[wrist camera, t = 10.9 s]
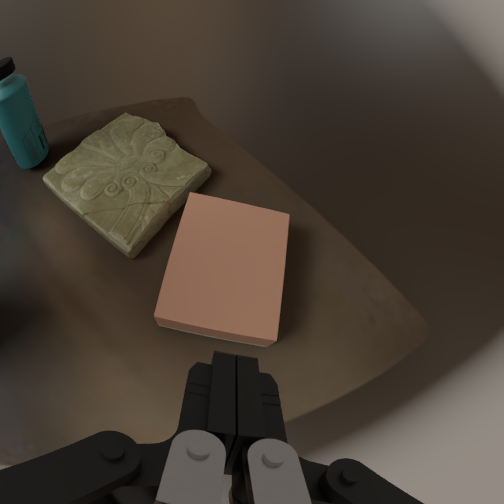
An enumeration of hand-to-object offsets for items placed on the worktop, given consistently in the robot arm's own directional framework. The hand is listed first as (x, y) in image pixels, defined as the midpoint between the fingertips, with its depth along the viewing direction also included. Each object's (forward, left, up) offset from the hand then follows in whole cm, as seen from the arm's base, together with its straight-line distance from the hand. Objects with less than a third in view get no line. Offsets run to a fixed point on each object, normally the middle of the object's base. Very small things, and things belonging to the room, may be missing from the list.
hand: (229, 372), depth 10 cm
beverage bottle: (+4, +43, -22) cm, 48 cm away
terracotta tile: (+4, +3, -19) cm, 20 cm away
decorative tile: (+13, +27, -22) cm, 37 cm away
